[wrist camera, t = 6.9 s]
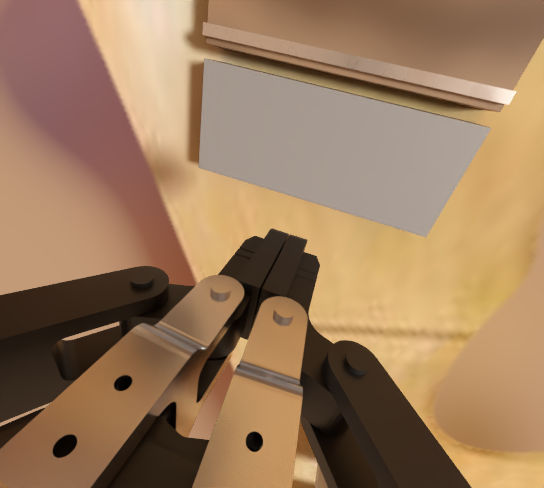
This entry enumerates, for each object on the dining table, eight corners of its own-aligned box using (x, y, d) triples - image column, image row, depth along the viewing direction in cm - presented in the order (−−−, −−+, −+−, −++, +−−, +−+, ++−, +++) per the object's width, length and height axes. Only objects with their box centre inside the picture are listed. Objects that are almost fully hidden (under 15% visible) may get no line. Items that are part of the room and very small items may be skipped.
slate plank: (218, 61, 19) (204, 58, 17) (478, 123, 16) (491, 128, 15) (211, 161, 22) (198, 167, 21) (420, 224, 20) (425, 237, 18)
